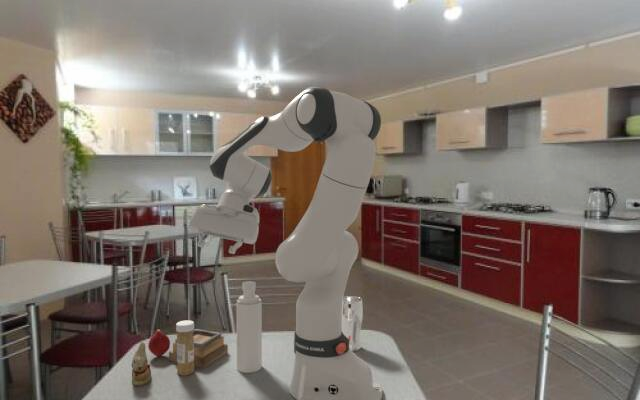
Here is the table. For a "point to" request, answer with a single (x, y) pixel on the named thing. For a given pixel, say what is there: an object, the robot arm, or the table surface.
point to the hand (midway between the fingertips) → (215, 249)
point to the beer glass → (352, 320)
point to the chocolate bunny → (140, 367)
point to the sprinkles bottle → (185, 347)
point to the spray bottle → (249, 329)
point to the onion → (159, 343)
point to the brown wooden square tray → (204, 348)
